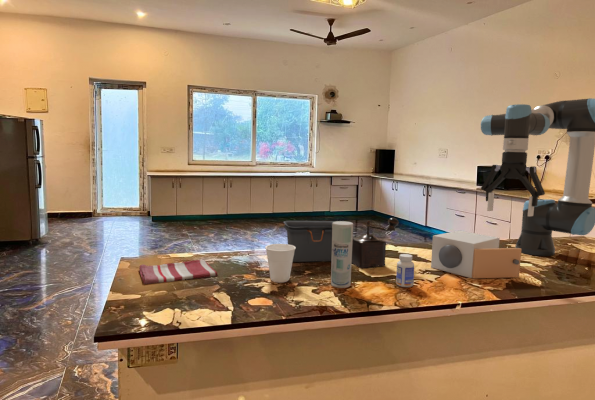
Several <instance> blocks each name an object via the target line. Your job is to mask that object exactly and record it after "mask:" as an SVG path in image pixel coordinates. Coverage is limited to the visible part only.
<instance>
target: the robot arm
mask: <svg viewBox="0 0 595 400" xmlns="http://www.w3.org/2000/svg"><path fill="white" fill-rule="evenodd" d="M549 129H552V130H566V134H567V136H568V137H569V146H568V154H567V161H566V171H565V177H564V178H565V179H564V186H563V192H562V193H563V195H562V196H561V197H560V198H558V199H557V203H556V200H555V199H549V198H548V199H539V197H540V196H544V195H546V192H545V190H544V187H543V185H542V183H541V181H540V180H541V179H540V178H539V175H538V174H537V166H532V165H531V166H527V160H528V152H527V151H528V149H529V137H530V136H541V135H544V134H545V133H546V132H547V131H548V130H549ZM480 130H481V132H482V134H483V135H485V136H503V143H502V144H503V145H502V150H503V152H502V153H501V155H502V156H501V165H498V164H492V166H491V169H490V172H489V173H488V175H487V177H486V178H485V181H484V182H483V184H482V186H481V188H480V189H481V191H484V192H485V193H486V194H485V201H486V202H487V208H486V211H487V212H493V211H494V202H495V201H494V200H495V192H493V191H494V190H495V189H496V188H498V186H499V185H500V184H501V183H502V182H503V181H504V180H505V179H511V180H519V181H520V182H521V183H522V184H523V185H524V187H525V188H526V189H527V191H528V192H529V193H530V195H531V196H529V197H528V198H529V199H528V200H526V201H525V202H524V203H523V207H522V219H521V229H520V230H521V232H520V235H519V237H518V239H517V241H516V243H515V247H514V248H521V254H526V255H532V256H539V257H540V256H542V257H547V256H548V257H550V256H554V255H556V247H555V245H554V243H555V242H554V240H553V235H552V234H553V232H557V233H563V234H568V235H572V236H573V235H576V236H587V235H589V234H590V232H592V230H593V229H594V228H595V227H594V226H595V207H593V202H592V201H591V200H590V198H589V195H590V188H591V187H590V186H591V178H592V172H593V163H594V155H595V98H590V97H589V98H581V99H579V98H578V99H570V100H559V101H556V102H555V101H554V102H550V103H547V104H542V105H538V106H536V107H535V108H533V109H532V105H530V104H523V103H522V104H519V103H517V104H510V105H508V106H507V107H506V111H505V113H502V114H501V113H500V114H490V115H485V116H484V117H483V118H482V119H481V122H480ZM499 171H501V173H500V174H499V176H498V177H497V178H496V179H494V178H495V177H496V176H497V174H498V172H499ZM525 173H528V174H529V176H530V178H531V180H532V183H533V184H532V183H531V182H530V180H529V179H528V177H527V176H526V174H525ZM493 180H494V181H493ZM533 185H534V186H533Z"/></svg>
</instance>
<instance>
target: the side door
mask: <svg viewBox="0 0 595 400" xmlns="http://www.w3.org/2000/svg"><path fill="white" fill-rule="evenodd" d="M521 259H522V253H521V248H515V247H509V248H508V247H507V248H506V247H504V248H501V247H499V248H494V249H474V256H473V269H472V278H471V279H486V278H487V279H497V278H498V279H499V278H504V279H505V278H520V270H521Z"/></svg>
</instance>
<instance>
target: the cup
mask: <svg viewBox="0 0 595 400" xmlns="http://www.w3.org/2000/svg"><path fill="white" fill-rule="evenodd" d="M264 249H265V252H266V258H267V264H268V265H267V266H268V271H269V277H270V280H271V281H272V282H274V283H280V284H281V283H287V282H288V281H289V280H290V277H291V272H292V267H293V263H294V262H293V257H294V251H295V249H296V247H295V246H293V245H289V244H288V243H287V244H286V243H273V244H268V245H266V246H264Z"/></svg>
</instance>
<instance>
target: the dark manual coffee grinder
mask: <svg viewBox="0 0 595 400" xmlns="http://www.w3.org/2000/svg"><path fill="white" fill-rule="evenodd" d="M387 222H388V227H387V228H385V227H384V228H383V227H381V226H380V227H379V226H374V225H373V226H372V225H371V221H370V220H367V221H366V234H363V235H360V236H359V237H353V241H352V263H351V264H352V265H355V266H356V267H357V268H360V269H367V268H368V269H371V268H377V267H379V268H380V267H385V266H386V250H387V248H386V247H387V242H386V241H385V240H383V239H379V238H377V237H376V236H374V235H373V234H370V229H375V230H381V231H385V232H393V231H394V232H395V231H396V227H398V225H399V224H400V223H399V220H398V219H397V218H395V217H390V218H389V219H388V220H387Z"/></svg>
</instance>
